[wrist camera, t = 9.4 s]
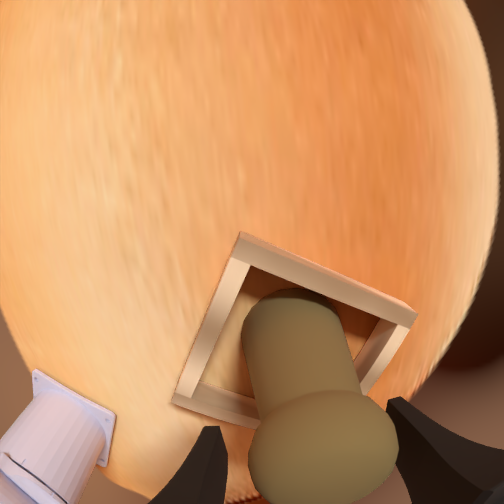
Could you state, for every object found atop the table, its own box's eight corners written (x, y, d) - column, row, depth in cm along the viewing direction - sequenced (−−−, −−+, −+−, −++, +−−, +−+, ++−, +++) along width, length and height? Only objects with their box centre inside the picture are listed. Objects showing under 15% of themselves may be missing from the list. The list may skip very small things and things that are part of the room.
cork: (240, 375, 18) (235, 531, 7) (241, 287, 16) (232, 443, 6) (333, 373, 18) (387, 513, 7) (347, 288, 17) (453, 414, 6)
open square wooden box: (320, 425, 19) (325, 444, 17) (177, 383, 18) (170, 402, 16) (403, 301, 17) (418, 314, 15) (240, 230, 16) (239, 237, 14)
